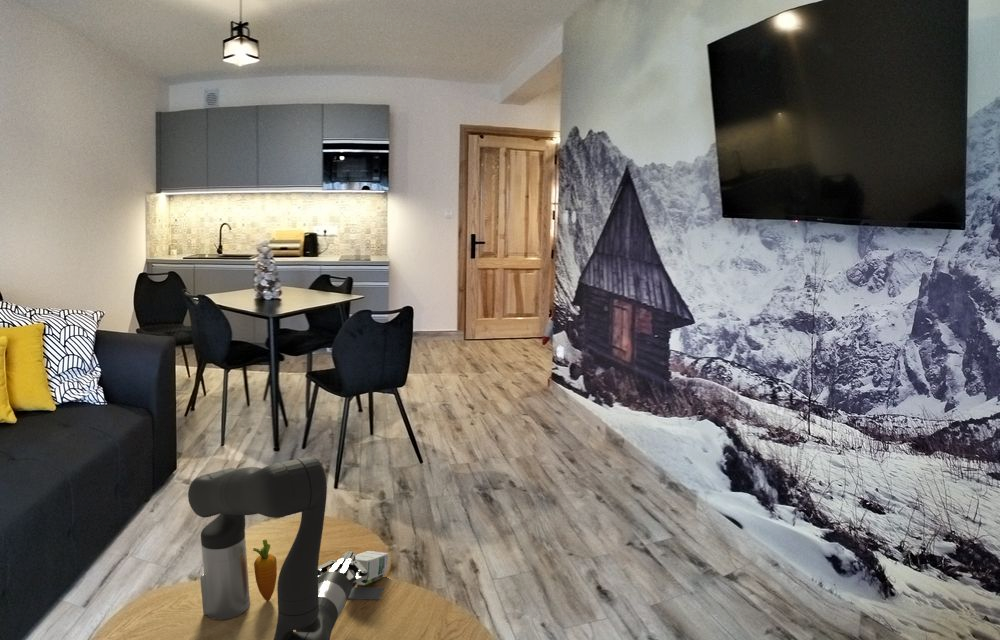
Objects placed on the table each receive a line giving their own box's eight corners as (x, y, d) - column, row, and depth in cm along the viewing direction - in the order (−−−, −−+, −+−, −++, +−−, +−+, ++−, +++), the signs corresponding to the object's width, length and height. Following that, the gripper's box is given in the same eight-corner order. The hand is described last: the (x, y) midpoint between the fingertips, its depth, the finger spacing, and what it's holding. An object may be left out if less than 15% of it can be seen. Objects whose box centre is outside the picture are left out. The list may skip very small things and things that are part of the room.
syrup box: (367, 560, 154) (390, 552, 167) (344, 557, 155) (369, 550, 169) (364, 585, 152) (388, 576, 166) (341, 582, 154) (367, 573, 168)
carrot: (269, 609, 150) (265, 549, 148) (252, 604, 152) (247, 545, 149) (283, 597, 155) (279, 538, 152) (266, 593, 156) (262, 535, 154)
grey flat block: (343, 599, 154) (343, 597, 154) (349, 588, 158) (348, 586, 158) (379, 599, 154) (379, 598, 154) (383, 588, 158) (383, 587, 158)
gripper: (358, 583, 133) (378, 540, 150) (295, 581, 134) (321, 538, 151) (360, 616, 134) (379, 570, 151) (297, 614, 135) (323, 568, 152)
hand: (350, 554), depth 151 cm, fingers closed
